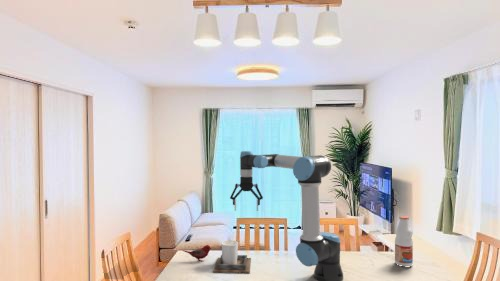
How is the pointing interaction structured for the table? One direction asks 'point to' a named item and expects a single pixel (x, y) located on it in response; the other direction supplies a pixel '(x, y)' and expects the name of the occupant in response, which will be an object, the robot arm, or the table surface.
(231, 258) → the candle holder
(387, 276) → the table surface
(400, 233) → the fruit juice
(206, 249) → the decorative bird figurine
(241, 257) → the brown square wooden tray
